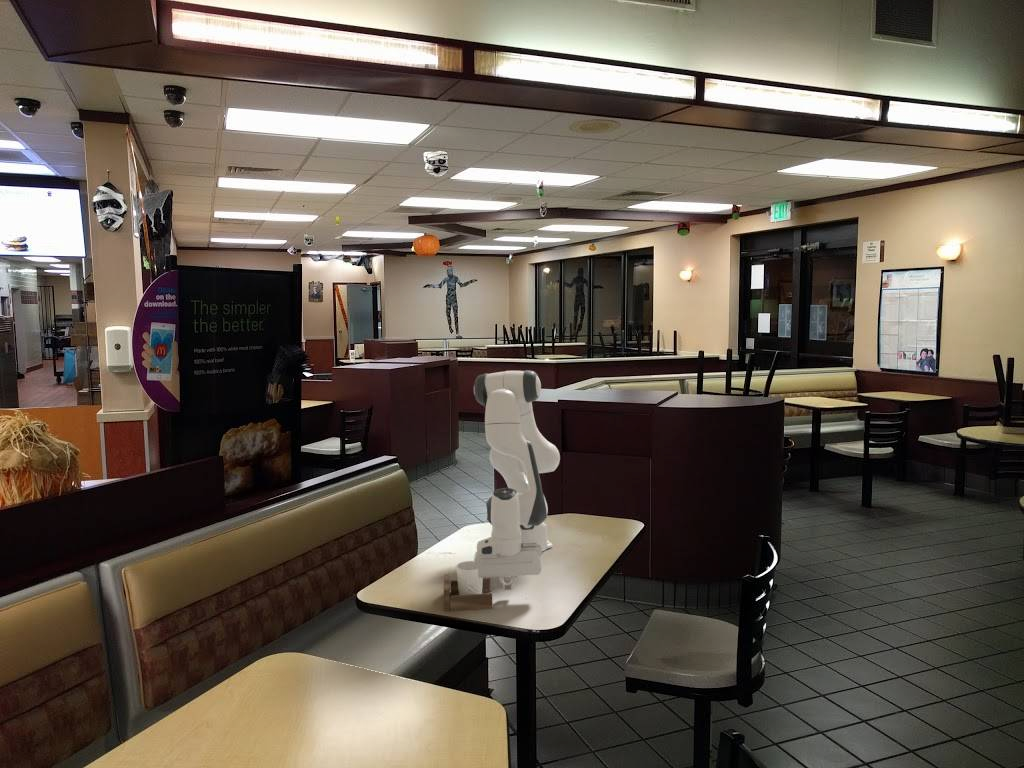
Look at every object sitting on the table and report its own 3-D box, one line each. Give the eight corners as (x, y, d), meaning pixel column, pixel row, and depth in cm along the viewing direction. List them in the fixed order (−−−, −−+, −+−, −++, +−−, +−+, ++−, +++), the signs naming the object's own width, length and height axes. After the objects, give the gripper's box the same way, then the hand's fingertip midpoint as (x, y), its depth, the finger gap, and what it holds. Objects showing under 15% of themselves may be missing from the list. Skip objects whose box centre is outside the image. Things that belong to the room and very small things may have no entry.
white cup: (471, 605, 196) (470, 572, 195) (451, 599, 201) (450, 566, 200) (489, 597, 202) (488, 564, 201) (469, 591, 207) (468, 559, 206)
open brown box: (445, 593, 206) (444, 573, 205) (490, 590, 207) (489, 571, 206) (444, 611, 193) (443, 590, 192) (492, 608, 194) (491, 587, 193)
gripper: (540, 539, 203) (541, 583, 204) (472, 542, 202) (473, 587, 203) (542, 546, 197) (543, 592, 198) (472, 549, 196) (474, 595, 197)
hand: (507, 589), depth 201 cm, fingers closed
